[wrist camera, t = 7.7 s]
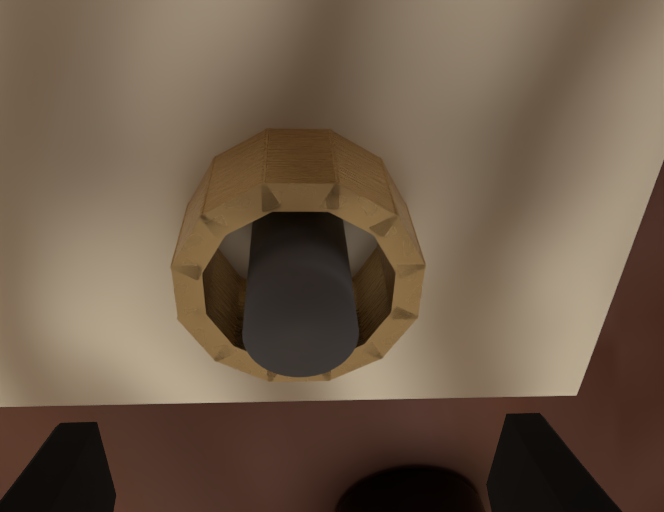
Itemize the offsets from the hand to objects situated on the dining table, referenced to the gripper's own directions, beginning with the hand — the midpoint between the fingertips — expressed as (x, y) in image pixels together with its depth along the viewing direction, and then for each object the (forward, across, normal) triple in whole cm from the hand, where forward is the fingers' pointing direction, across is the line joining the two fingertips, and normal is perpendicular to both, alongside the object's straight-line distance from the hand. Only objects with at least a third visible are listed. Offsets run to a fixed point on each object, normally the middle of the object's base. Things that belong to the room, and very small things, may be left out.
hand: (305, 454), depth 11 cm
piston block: (+9, 0, 0) cm, 9 cm away
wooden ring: (+8, 0, 0) cm, 8 cm away
